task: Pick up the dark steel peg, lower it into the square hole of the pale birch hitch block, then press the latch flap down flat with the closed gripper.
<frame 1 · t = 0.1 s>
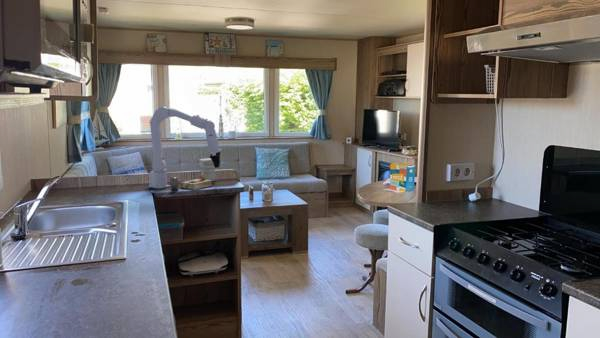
hand: (217, 166, 264), 11 cm above the worktop, tool pointing down, fingers open, 7 cm apart
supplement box: (207, 180, 280), on the worktop
latch flap: (201, 177, 264), point 5 cm above the worktop, hinge at 40.0°
steel peg: (174, 190, 252), on the worktop
hitch block: (196, 186, 262), on the worktop
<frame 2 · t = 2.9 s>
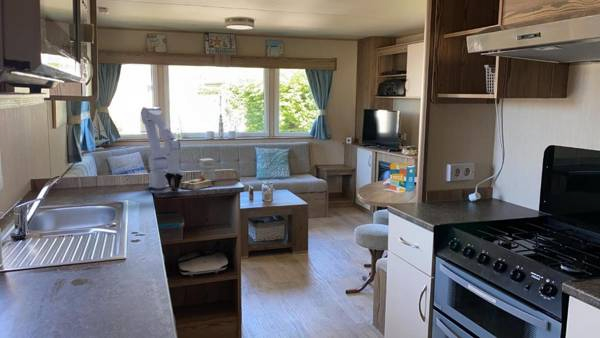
hand: (174, 187, 251), 2 cm above the worktop, tool pointing down, fingers closed on steel peg, 4 cm apart
steel peg: (174, 190, 252), on the worktop, touching gripper
everything else where it was.
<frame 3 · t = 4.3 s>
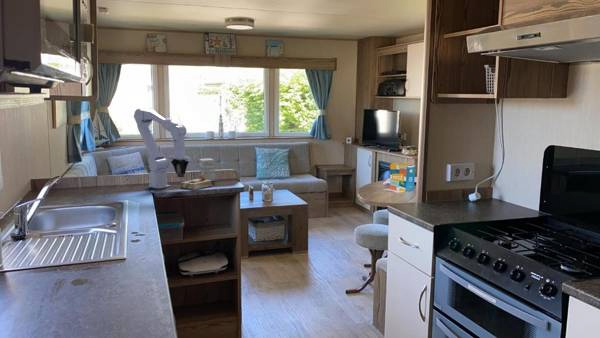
hand: (180, 173, 253), 9 cm above the worktop, tool pointing down, fingers closed on steel peg, 4 cm apart
steel peg: (180, 176, 253), point 7 cm above the worktop, touching gripper
everything else where it was.
when the fingers open (4 cm above the worktop, at t = 6.0 s): steel peg drops 2 cm, resting in hitch block.
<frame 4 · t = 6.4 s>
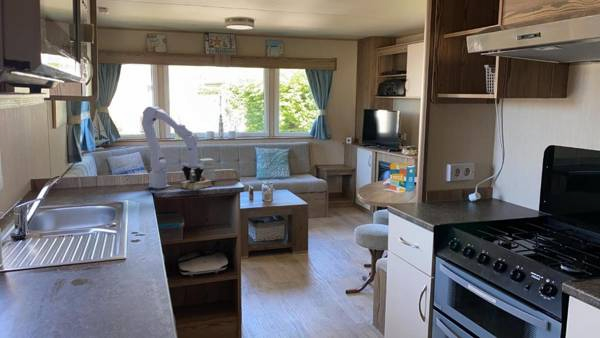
hand: (193, 181, 259), 4 cm above the worktop, tool pointing down, fingers open, 7 cm apart
steel peg: (193, 187, 259), resting in hitch block
everything else where it was.
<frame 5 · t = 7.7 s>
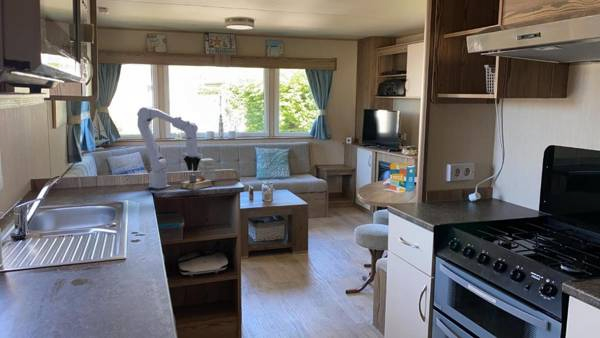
hand: (192, 170, 258), 9 cm above the worktop, tool pointing down, fingers open, 3 cm apart
nothing on the worktop moved.
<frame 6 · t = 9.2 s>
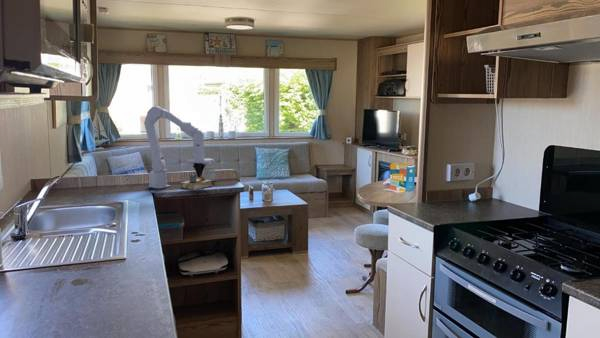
hand: (199, 176, 263), 5 cm above the worktop, tool pointing down, fingers closed, pressing on latch flap
latch flap: (201, 177, 264), point 5 cm above the worktop, hinge at 37.7°, touching gripper
everything else where it was.
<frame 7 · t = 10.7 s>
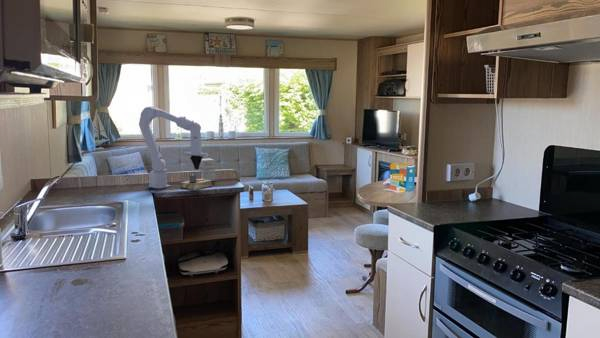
hand: (196, 169, 263), 9 cm above the worktop, tool pointing down, fingers closed
latch flap: (200, 179, 264), point 3 cm above the worktop, hinge at -1.9°, touching hitch block
everything else where it was.
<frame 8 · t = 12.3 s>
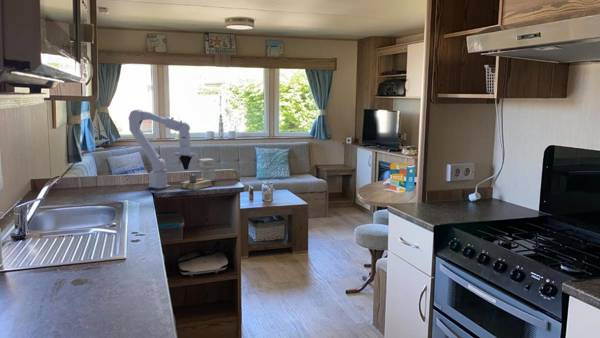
hand: (186, 169, 262), 9 cm above the worktop, tool pointing down, fingers closed
latch flap: (200, 179, 264), point 3 cm above the worktop, hinge at 1.1°
everything else where it was.
at the end: steel peg 0.1 cm from the target spot on the hitch block, point 0.0 cm above the hitch block's base; steel peg tilted 0°; latch flap at +1° (first picture: +40°) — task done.
